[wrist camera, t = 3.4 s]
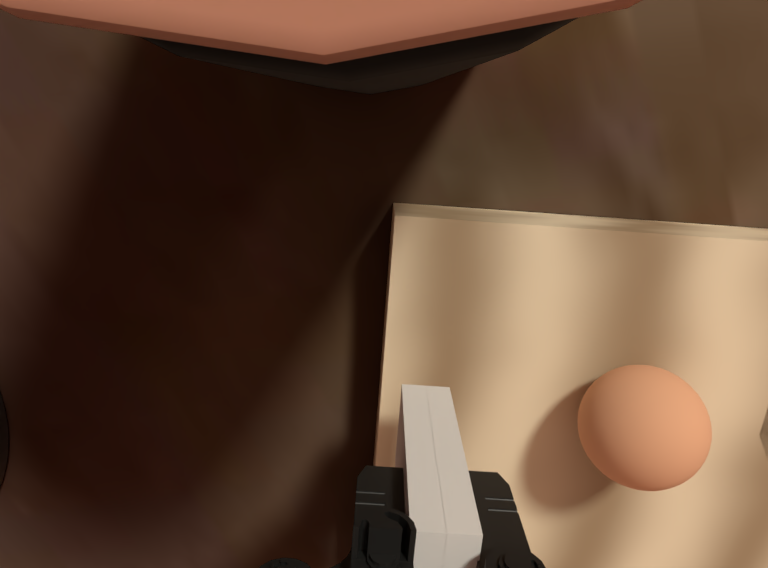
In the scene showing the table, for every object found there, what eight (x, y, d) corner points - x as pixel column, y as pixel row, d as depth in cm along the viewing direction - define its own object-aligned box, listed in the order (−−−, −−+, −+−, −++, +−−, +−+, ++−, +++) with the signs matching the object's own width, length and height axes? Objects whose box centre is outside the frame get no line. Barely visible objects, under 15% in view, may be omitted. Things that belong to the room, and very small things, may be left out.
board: (366, 558, 26) (362, 673, 21) (393, 202, 21) (397, 236, 16) (909, 586, 27) (1038, 704, 22) (1053, 248, 22) (1264, 295, 17)
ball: (554, 441, 22) (591, 515, 18) (572, 341, 20) (616, 397, 17) (661, 448, 22) (721, 522, 18) (685, 348, 20) (755, 406, 17)
